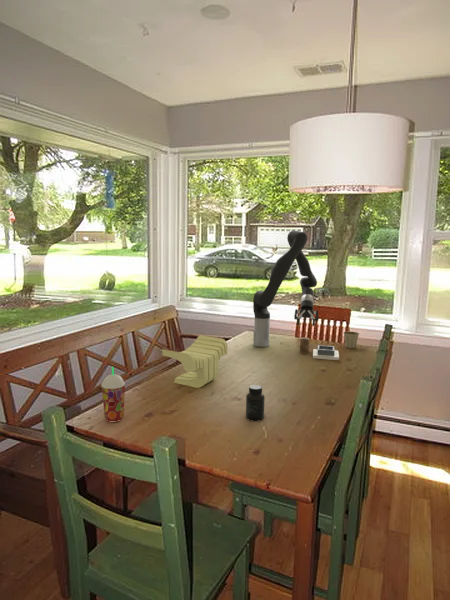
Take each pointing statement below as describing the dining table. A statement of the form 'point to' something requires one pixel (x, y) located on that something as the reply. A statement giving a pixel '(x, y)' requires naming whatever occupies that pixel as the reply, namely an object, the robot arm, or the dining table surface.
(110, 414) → the smoothie
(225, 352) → the slatted curved stool
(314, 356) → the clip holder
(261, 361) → the dining table surface
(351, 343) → the flower pot
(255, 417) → the supplement bottle
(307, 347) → the walnut block
